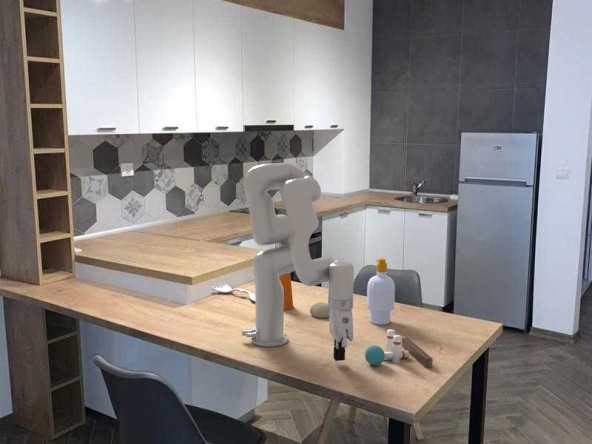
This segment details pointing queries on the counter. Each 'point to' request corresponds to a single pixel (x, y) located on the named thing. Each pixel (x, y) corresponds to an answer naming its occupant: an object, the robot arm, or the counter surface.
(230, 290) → the white fork
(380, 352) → the ball
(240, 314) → the counter surface
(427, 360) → the back wall
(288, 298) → the spray bottle
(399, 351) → the pin
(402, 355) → the front pin
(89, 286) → the counter surface
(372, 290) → the soap bottle
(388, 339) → the pin
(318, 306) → the sea urchin shell
